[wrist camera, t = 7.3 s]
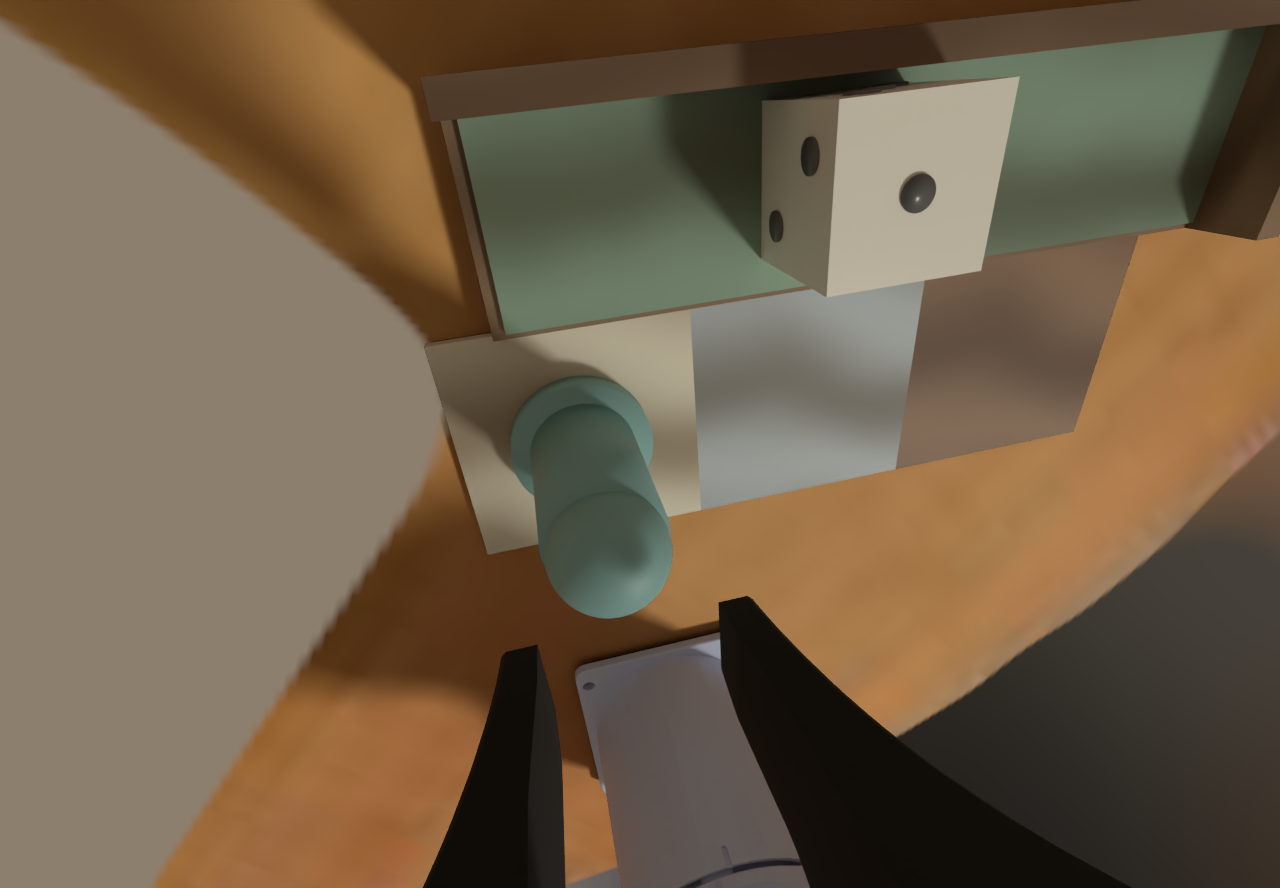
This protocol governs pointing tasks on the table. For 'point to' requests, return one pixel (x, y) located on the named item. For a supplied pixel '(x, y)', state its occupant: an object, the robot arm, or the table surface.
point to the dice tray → (787, 67)
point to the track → (803, 381)
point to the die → (883, 181)
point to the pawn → (593, 494)
